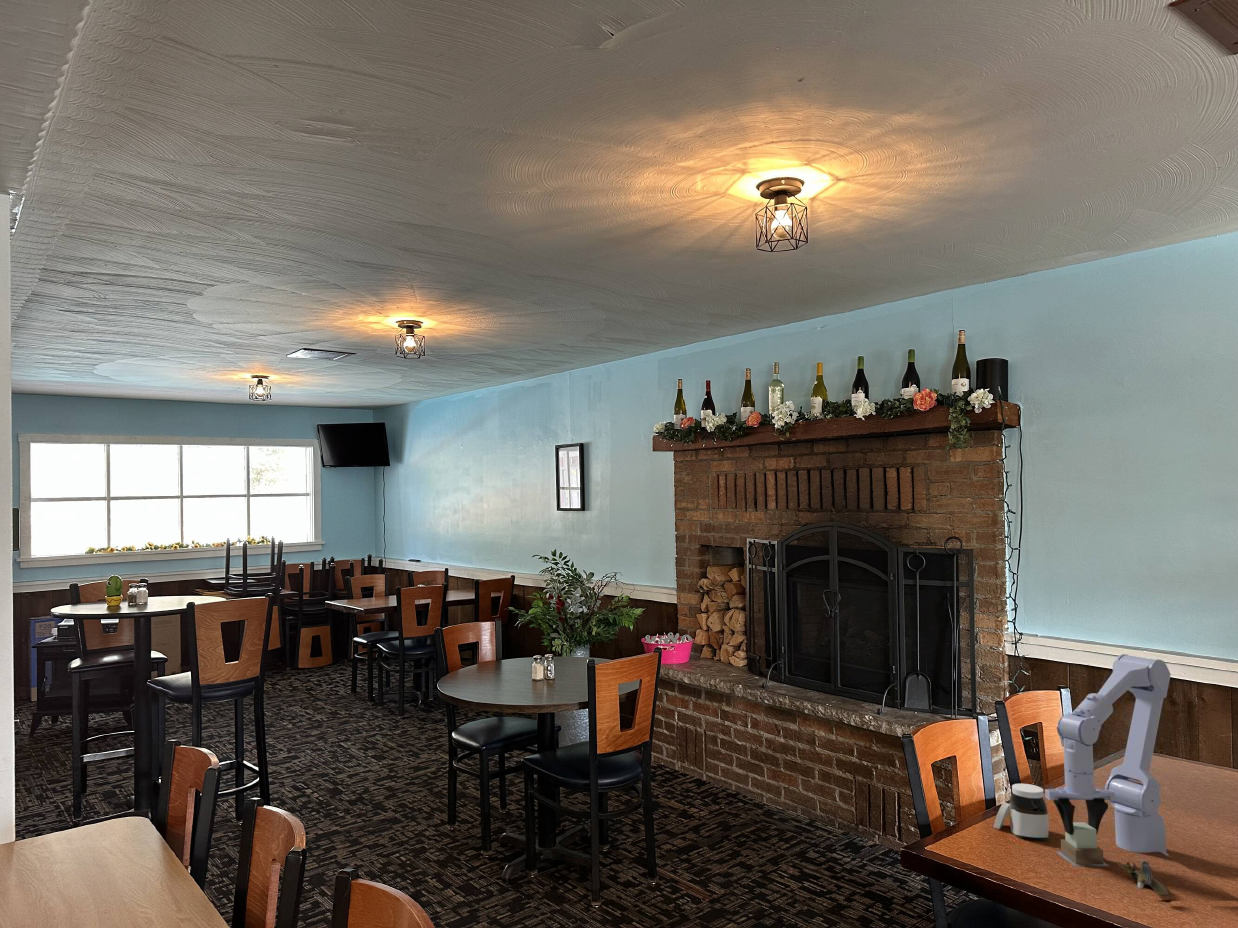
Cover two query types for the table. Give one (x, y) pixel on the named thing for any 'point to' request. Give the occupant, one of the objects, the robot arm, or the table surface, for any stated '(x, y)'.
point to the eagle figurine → (1146, 878)
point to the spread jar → (1025, 813)
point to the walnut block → (1082, 854)
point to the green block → (1082, 836)
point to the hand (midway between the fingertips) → (1081, 832)
